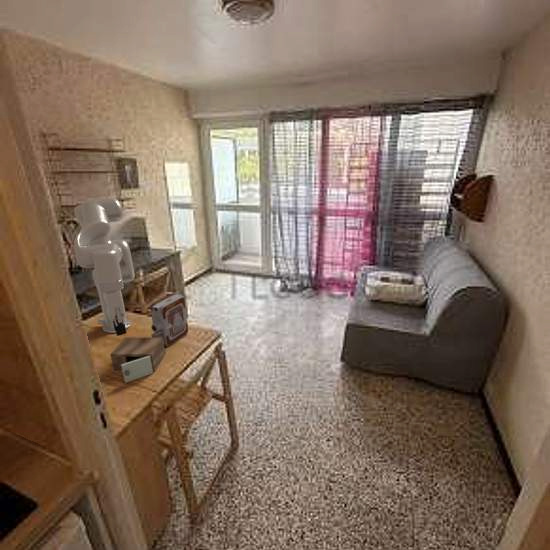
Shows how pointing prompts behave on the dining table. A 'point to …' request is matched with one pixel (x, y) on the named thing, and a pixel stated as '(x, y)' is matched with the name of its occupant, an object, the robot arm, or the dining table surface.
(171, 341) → the cine camera
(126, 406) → the dining table surface
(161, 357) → the camera case
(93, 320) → the dining table surface
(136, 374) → the case door
